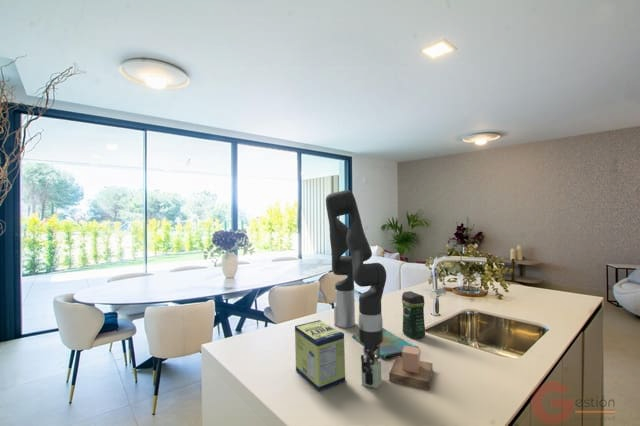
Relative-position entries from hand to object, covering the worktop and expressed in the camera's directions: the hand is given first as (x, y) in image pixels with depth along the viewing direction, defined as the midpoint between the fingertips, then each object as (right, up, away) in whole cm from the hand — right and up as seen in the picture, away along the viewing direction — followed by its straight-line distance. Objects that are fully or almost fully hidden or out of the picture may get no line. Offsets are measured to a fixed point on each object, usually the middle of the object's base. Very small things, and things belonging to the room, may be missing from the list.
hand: (371, 379), depth 94 cm
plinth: (+14, -1, +3) cm, 14 cm away
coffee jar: (+25, -1, +36) cm, 44 cm away
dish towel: (+10, -2, +28) cm, 29 cm away
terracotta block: (+14, +2, +3) cm, 14 cm away
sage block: (0, -1, 0) cm, 1 cm away
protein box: (-17, -2, +5) cm, 17 cm away
